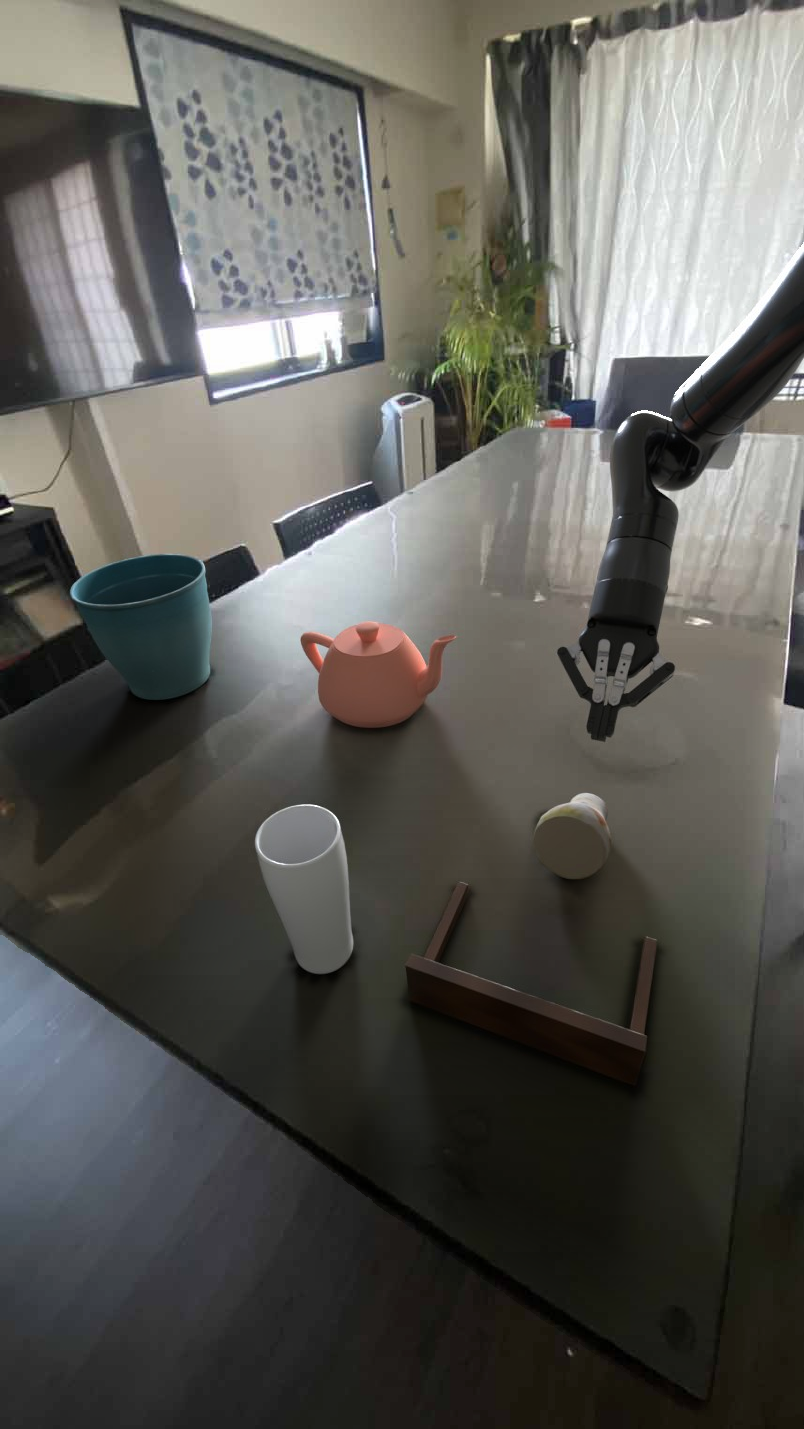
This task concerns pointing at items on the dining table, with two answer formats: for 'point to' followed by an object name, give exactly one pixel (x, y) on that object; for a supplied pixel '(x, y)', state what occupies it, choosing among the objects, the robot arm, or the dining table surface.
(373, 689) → the teapot
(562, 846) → the mug
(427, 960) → the walnut rack
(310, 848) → the drinking glass
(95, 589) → the flower pot
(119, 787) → the dining table surface
